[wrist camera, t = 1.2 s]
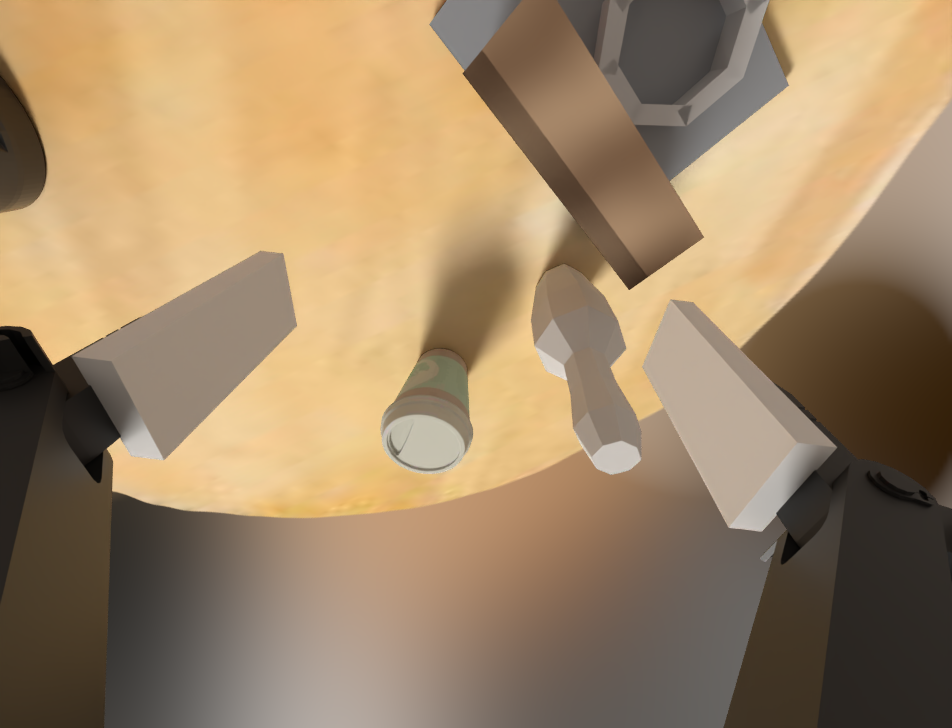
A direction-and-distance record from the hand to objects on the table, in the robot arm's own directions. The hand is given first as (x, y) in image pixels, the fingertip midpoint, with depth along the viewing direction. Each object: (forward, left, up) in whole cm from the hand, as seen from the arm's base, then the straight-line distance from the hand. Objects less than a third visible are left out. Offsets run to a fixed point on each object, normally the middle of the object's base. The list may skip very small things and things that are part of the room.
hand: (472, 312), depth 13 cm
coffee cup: (+10, -17, -24) cm, 31 cm away
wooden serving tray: (+1, +6, -23) cm, 24 cm away
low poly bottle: (+11, -1, -24) cm, 26 cm away
